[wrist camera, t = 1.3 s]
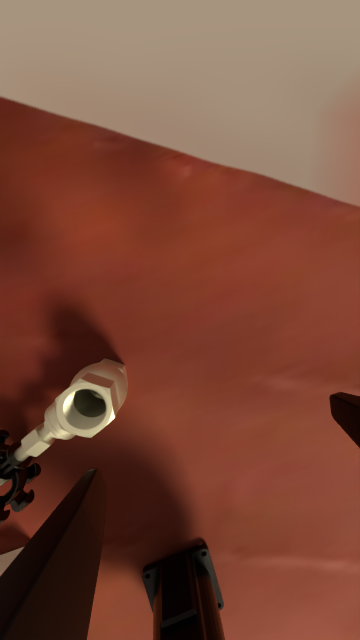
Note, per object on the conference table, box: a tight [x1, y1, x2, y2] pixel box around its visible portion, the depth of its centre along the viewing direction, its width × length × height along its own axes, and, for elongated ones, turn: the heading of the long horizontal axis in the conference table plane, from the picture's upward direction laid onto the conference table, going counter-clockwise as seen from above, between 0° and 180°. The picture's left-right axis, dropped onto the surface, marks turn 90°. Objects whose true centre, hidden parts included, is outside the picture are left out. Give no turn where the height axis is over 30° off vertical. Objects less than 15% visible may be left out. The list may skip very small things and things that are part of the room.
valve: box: [0, 358, 128, 524], centre depth 16 cm, size 7×7×12 cm
